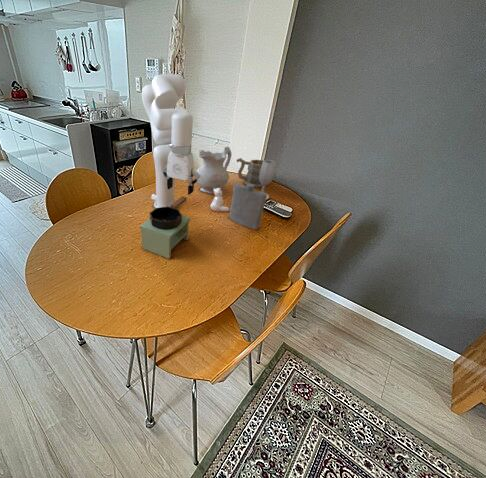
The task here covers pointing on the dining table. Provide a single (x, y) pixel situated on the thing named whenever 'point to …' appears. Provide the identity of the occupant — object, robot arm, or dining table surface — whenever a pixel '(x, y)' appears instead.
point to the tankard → (251, 172)
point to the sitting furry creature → (218, 201)
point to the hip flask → (247, 205)
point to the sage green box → (163, 237)
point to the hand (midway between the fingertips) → (179, 190)
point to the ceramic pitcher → (213, 170)
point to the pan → (167, 215)
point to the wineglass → (266, 174)
